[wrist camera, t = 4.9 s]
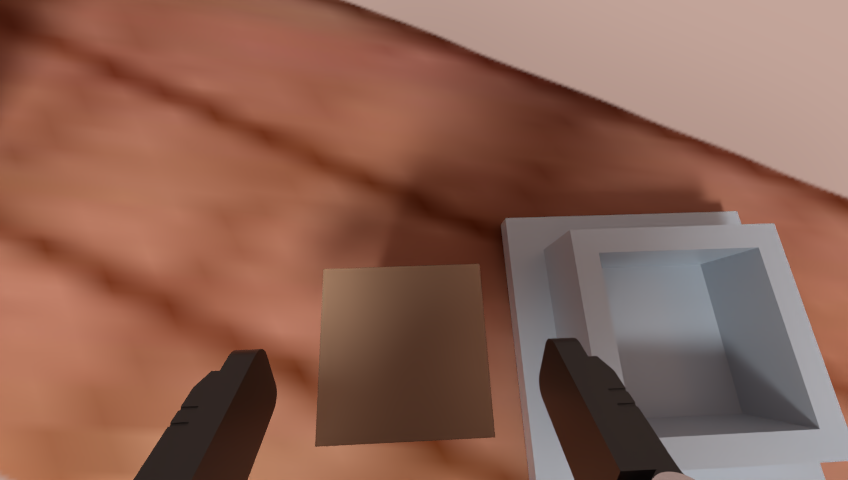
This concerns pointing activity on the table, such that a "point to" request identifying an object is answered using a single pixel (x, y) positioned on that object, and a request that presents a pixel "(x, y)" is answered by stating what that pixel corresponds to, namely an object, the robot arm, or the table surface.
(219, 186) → the table surface
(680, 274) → the socket stand
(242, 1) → the table surface
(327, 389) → the walnut block
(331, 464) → the table surface
